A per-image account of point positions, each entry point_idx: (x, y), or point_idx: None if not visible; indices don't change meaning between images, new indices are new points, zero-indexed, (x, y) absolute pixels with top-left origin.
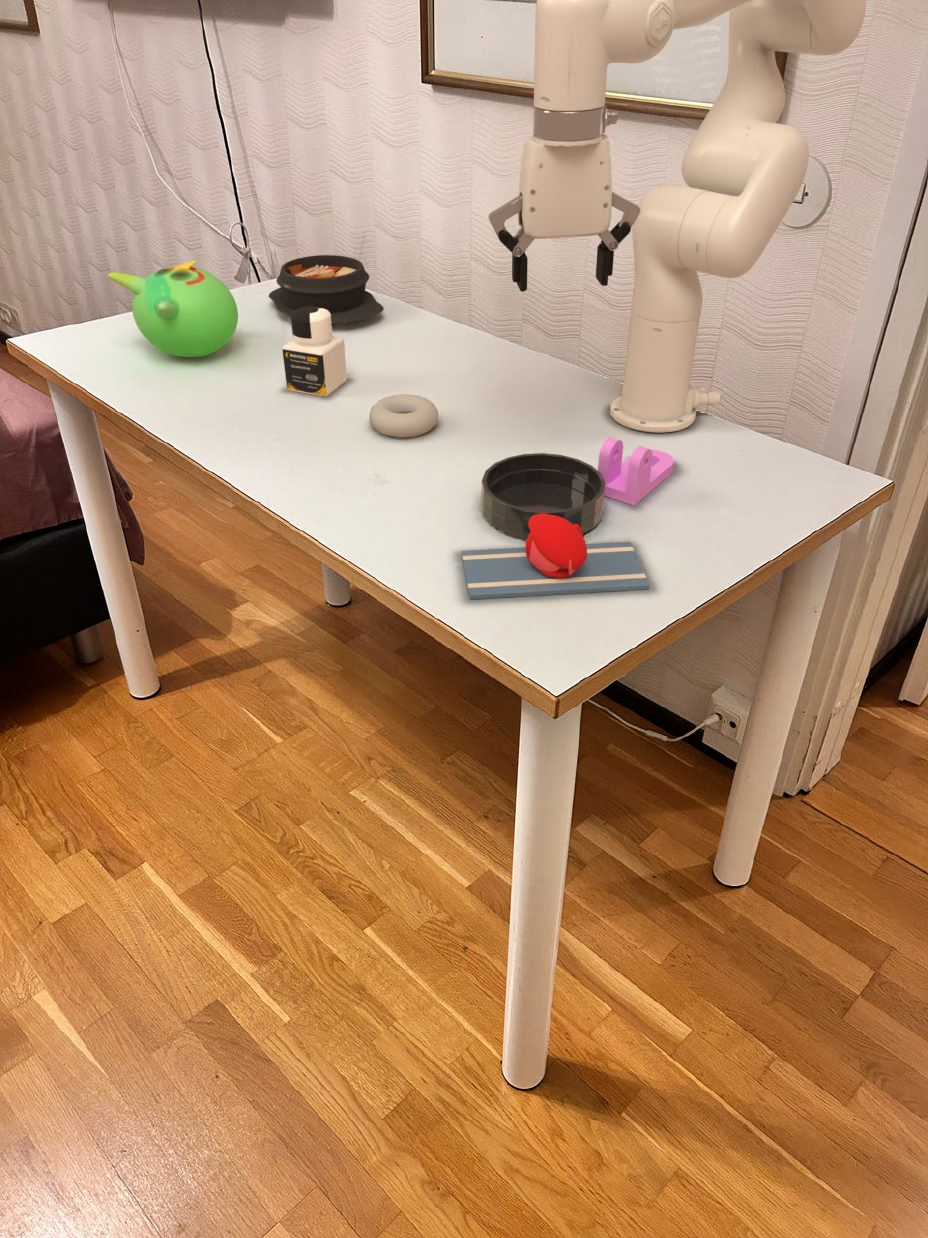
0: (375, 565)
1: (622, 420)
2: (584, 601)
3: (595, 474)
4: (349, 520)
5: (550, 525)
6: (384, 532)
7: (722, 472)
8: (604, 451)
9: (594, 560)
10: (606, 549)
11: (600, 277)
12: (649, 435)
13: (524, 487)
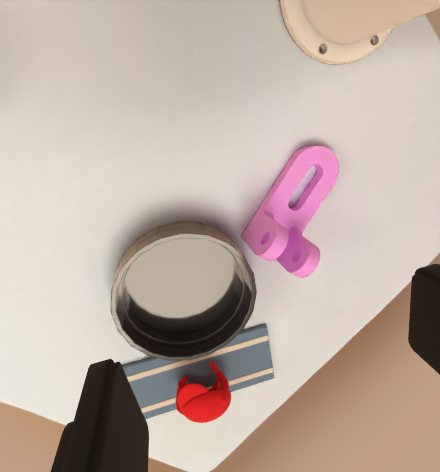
0: (29, 400)
1: (294, 35)
2: None
3: (246, 270)
4: None
5: (200, 420)
6: (15, 351)
7: (381, 171)
8: (263, 257)
9: (234, 359)
10: (245, 344)
11: (426, 346)
12: (323, 69)
13: (160, 244)
